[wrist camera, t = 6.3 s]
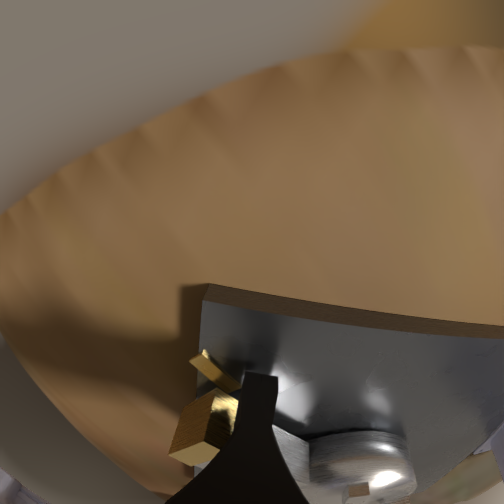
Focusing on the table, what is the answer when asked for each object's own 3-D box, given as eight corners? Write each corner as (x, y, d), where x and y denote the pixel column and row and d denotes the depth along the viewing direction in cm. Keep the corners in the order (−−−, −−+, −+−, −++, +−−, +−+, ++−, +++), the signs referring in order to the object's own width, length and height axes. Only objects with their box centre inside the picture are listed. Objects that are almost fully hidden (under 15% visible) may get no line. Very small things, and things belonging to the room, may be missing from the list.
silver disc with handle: (427, 452, 14) (439, 496, 10) (323, 496, 17) (324, 535, 13) (271, 347, 11) (265, 433, 7) (153, 421, 14) (132, 477, 10)
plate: (554, 329, 11) (564, 341, 10) (420, 482, 19) (422, 492, 18) (200, 281, 12) (191, 300, 10) (192, 476, 20) (189, 489, 18)
